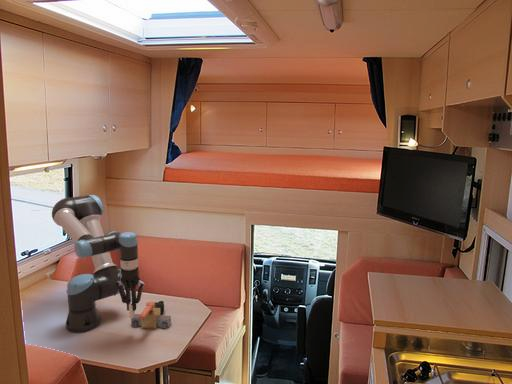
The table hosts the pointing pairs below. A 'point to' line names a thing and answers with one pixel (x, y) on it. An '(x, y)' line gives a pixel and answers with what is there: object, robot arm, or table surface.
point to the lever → (147, 309)
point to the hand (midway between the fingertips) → (132, 316)
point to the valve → (152, 320)
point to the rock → (160, 306)
